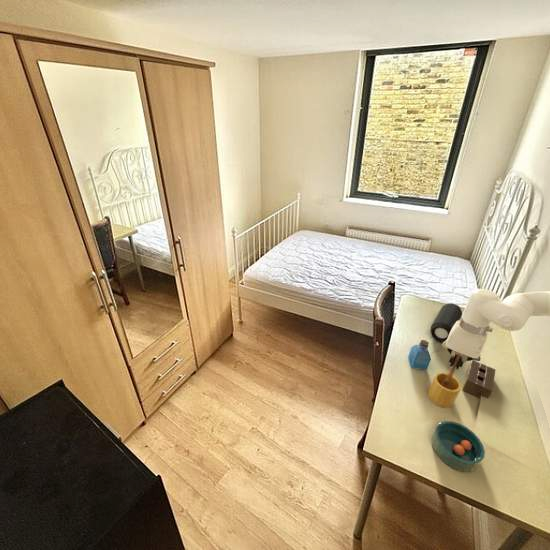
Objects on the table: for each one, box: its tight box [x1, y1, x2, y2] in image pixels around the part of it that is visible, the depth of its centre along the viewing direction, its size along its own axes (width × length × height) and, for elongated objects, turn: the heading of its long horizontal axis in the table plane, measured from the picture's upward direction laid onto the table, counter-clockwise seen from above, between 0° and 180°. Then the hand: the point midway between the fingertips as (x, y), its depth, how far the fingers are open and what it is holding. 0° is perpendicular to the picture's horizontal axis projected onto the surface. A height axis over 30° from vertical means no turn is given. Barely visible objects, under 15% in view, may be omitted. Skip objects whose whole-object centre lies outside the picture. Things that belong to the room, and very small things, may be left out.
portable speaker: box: [429, 302, 463, 343], centre depth 145 cm, size 26×10×10 cm, turn 141°
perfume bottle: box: [407, 339, 432, 370], centre depth 124 cm, size 6×6×12 cm
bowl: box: [431, 420, 486, 473], centre depth 93 cm, size 14×14×5 cm
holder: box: [461, 360, 497, 400], centre depth 116 cm, size 8×13×6 cm, turn 142°
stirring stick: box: [444, 352, 463, 386], centre depth 105 cm, size 1×1×16 cm
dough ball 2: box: [460, 440, 472, 451], centre depth 94 cm, size 3×3×3 cm
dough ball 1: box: [453, 445, 465, 456], centre depth 92 cm, size 3×3×3 cm
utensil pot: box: [427, 371, 463, 409], centre depth 109 cm, size 9×9×9 cm
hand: (454, 365), depth 103 cm, fingers closed on stirring stick, 1 cm apart
